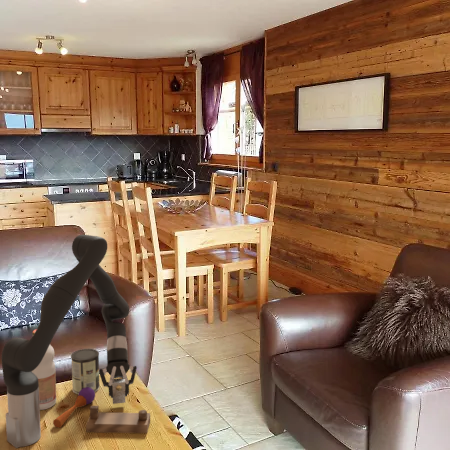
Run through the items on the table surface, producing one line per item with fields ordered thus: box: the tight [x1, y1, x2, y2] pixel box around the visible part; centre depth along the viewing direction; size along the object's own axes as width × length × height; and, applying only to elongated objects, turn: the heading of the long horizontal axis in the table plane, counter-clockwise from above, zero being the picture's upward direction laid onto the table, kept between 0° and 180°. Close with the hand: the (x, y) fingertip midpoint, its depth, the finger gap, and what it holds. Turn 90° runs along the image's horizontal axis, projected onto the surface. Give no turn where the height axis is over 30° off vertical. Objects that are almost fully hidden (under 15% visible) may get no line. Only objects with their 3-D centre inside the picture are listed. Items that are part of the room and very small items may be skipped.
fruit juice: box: [32, 328, 57, 411], centre depth 177 cm, size 9×9×28 cm
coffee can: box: [70, 348, 100, 395], centre depth 190 cm, size 10×10×14 cm
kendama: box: [52, 387, 96, 429], centre depth 174 cm, size 6×6×20 cm
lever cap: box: [112, 378, 126, 405], centre depth 178 cm, size 4×3×8 cm
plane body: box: [85, 405, 151, 434], centre depth 166 cm, size 20×7×7 cm, turn 91°
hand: (119, 396), depth 176 cm, fingers closed on lever cap, 4 cm apart
